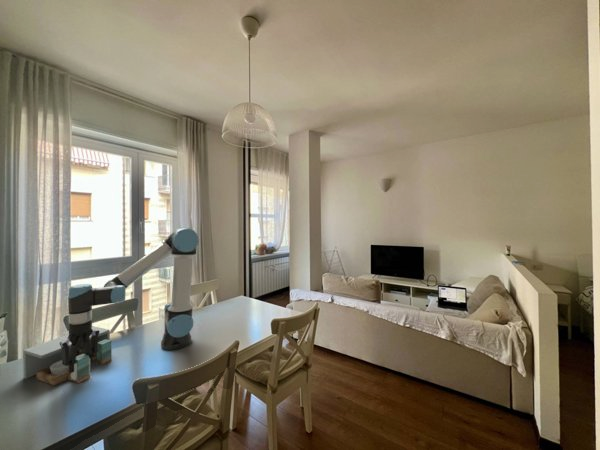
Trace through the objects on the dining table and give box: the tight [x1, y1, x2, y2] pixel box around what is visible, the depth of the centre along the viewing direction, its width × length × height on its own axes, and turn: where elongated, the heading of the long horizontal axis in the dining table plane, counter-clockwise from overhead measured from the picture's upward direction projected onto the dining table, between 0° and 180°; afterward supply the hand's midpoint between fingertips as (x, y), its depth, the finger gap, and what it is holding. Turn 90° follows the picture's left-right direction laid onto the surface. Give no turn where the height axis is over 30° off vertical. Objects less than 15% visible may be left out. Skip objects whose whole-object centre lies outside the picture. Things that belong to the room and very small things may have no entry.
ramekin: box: [50, 360, 69, 376], centre depth 111 cm, size 9×9×4 cm
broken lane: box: [76, 339, 113, 366], centre depth 122 cm, size 18×9×10 cm, turn 70°
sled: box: [35, 354, 91, 386], centre depth 108 cm, size 20×13×10 cm, turn 70°
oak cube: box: [80, 345, 91, 354], centre depth 123 cm, size 5×5×5 cm
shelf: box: [22, 325, 111, 379], centre depth 117 cm, size 14×26×12 cm, turn 160°
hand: (80, 375), depth 106 cm, fingers closed on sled, 4 cm apart
